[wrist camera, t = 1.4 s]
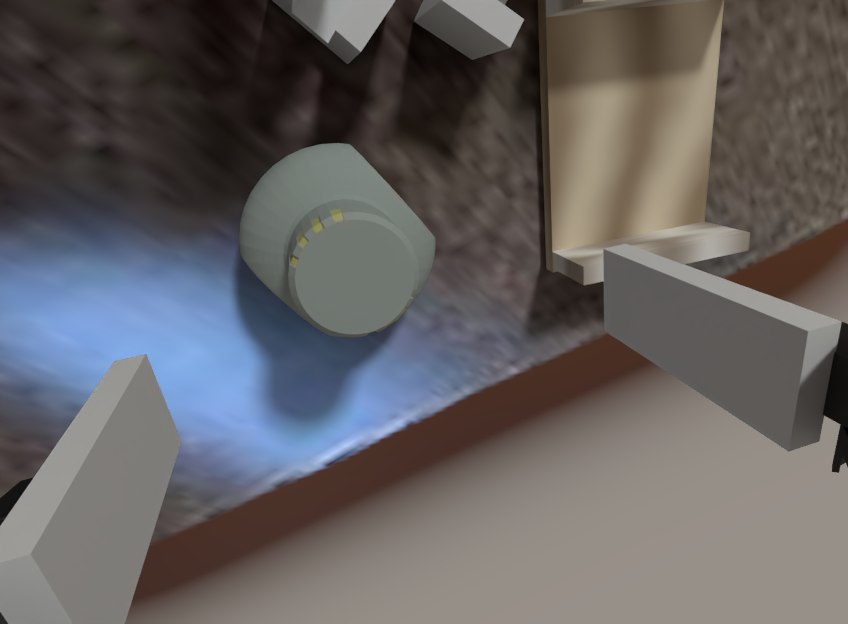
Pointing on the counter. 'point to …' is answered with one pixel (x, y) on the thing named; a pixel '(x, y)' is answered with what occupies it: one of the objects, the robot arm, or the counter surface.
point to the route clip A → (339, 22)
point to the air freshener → (335, 241)
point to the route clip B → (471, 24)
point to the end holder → (628, 130)
